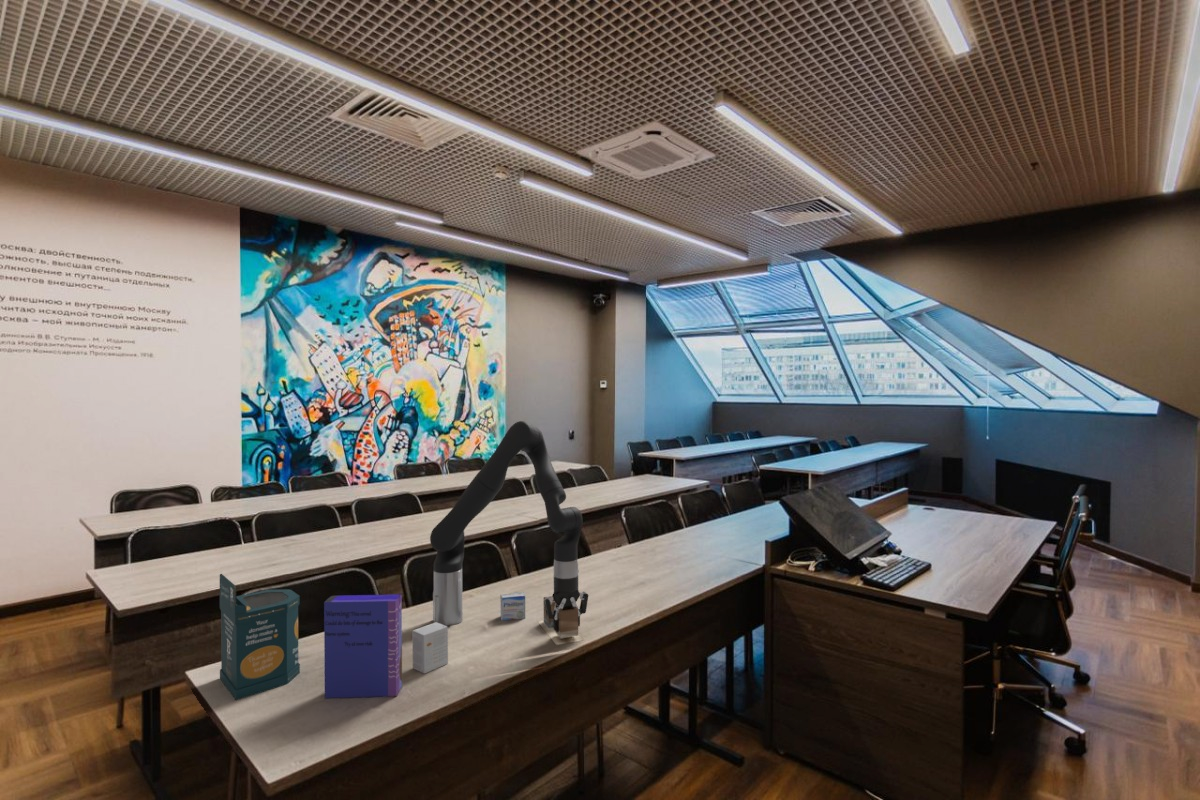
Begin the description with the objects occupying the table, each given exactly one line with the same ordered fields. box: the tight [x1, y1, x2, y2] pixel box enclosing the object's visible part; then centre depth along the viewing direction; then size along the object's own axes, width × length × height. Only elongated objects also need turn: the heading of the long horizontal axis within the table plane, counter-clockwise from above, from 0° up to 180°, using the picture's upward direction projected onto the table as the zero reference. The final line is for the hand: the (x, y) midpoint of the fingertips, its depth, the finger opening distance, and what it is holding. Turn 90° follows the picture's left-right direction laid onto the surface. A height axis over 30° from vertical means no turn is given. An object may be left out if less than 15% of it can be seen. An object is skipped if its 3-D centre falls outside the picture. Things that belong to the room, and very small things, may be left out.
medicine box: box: [500, 591, 526, 621], centre depth 194 cm, size 8×4×9 cm, turn 105°
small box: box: [411, 622, 449, 674], centre depth 161 cm, size 8×6×10 cm
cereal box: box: [323, 594, 403, 700], centre depth 147 cm, size 17×5×24 cm, turn 92°
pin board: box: [537, 619, 585, 646], centre depth 183 cm, size 9×20×7 cm, turn 22°
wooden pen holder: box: [543, 595, 556, 628], centre depth 188 cm, size 6×6×8 cm
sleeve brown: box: [555, 607, 579, 638], centre depth 177 cm, size 6×6×8 cm
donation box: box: [219, 573, 301, 701], centre depth 155 cm, size 16×16×28 cm
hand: (566, 629), depth 177 cm, fingers closed on sleeve brown, 5 cm apart
